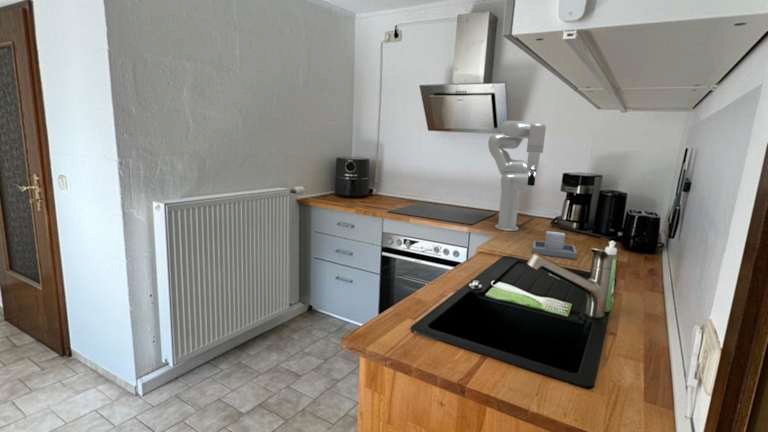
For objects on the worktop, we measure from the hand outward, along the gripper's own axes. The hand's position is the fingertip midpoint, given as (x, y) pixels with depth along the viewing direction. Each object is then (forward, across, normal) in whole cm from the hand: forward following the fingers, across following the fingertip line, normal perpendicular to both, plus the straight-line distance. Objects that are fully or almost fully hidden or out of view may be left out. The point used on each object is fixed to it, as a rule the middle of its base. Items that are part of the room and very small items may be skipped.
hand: (530, 184), depth 203 cm
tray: (+28, +19, +13) cm, 36 cm away
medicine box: (+28, +19, +13) cm, 36 cm away
